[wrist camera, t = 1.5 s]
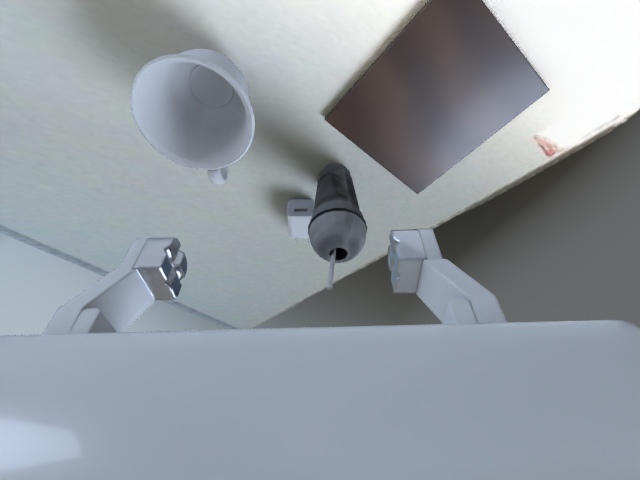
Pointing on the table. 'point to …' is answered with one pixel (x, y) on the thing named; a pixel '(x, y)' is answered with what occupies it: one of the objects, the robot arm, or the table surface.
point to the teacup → (195, 110)
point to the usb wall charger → (299, 218)
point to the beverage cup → (336, 218)
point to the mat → (437, 92)
